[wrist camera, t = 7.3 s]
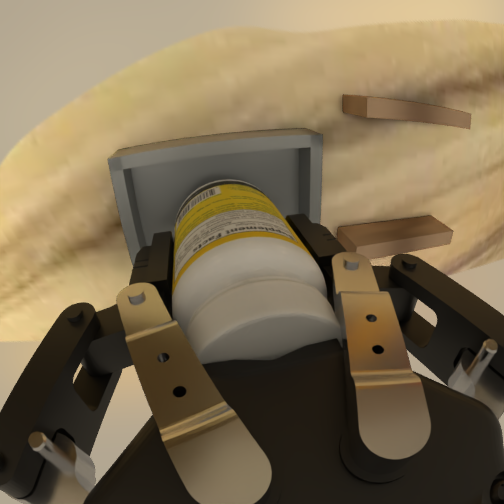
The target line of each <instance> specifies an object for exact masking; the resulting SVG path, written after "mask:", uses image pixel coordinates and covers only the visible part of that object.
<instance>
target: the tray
mask: <svg viewBox="0 0 504 504" xmlns="http://www.w3.org/2000/svg"><path fill="white" fill-rule="evenodd" d="M322 147H323V134H320V133H317V132H315V131H312V130H309V129H307V128H296V129H274V130H258V131H245V132H234V133H224V134H214V135H206V136H198V137H190V138H183V139H176V140H169V141H163V142H157V143H151V144H146V145H140V146H135V147H130V148H125V149H120V150H118V151H116V152H115V153H114V154H113V155H112V156H111V157H110V158H108V164H109V169H110V174H111V179H112V184H113V189H114V193H115V198H116V202H117V207H118V211H119V215H120V220H121V224H122V228H123V232H124V235H125V239H126V243H127V247H128V250H129V254H130V258H131V261H132V265H133V266H134V263H135V258H136V254H137V253H138V252H139V251H140V249H141V248H142V247H144V246H151V244H152V239H153V234H154V233H159V232H166V231H171V232H172V235H173V240H174V228H175V221H176V217H177V214H178V211H179V209H180V207H181V206H182V204H183V202H184V201H185V200H186V199H187V197H188V196H189V195H190V194H191V193H193V192H194V191H195V190H196V189H198V188H199V187H201V186H203V185H205V184H208V183H210V182H214V181H218V180H226V179H233V180H240V181H244V182H247V183H250V184H252V185H254V186H256V187H257V188H259V189H260V190H261V191H263V192H264V193H265V194H266V195H267V196H268V198H269V199H270V200H271V201H272V203H273V204H274V205H275V207H276V208H277V209H278V211H279V212H280V213H281V215H282V216H283V217H284V219H285V218H286V216H287V215H293V214H302V213H304V214H305V215H306V216H307V217H308V219H309V220H310V221H311V222H312V223H318V224H320V216H321V191H322Z"/></svg>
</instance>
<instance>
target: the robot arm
mask: <svg viewBox="0 0 504 504" xmlns="http://www.w3.org/2000/svg"><path fill="white" fill-rule="evenodd" d="M285 220H286V221H287V223H288V224H289V225H290V227H291V228H292V229H293V231H294V232H295V233H296V235H297V236H298V238H299V239H300V240H301V242H302V243H303V245H304V246H305V247H306V248H307V250H308V251H309V253H310V254H311V255H312V257H313V258H314V260H315V261H316V263H317V264H318V266H319V268H320V270H321V272H322V274H323V276H324V280H325V283H326V287H327V301H328V302H329V303H330V305H331V306H332V309H333V311H334V314H335V316H336V317H337V319H338V322H339V324H340V330H341V337H342V347H341V345H340V343H339V341H338V339H337V338H335V339H331V340H327V341H323V342H319V343H315V344H310V345H306V346H303V347H301V348H299V349H297V350H295V351H292V352H290V353H288V354H286V355H284V356H281V357H279V358H277V359H274V360H236V359H234V360H228V361H221V362H215V363H208V364H201V362H200V361H199V359H198V357H197V356H196V354H195V352H194V350H193V349H192V347H191V345H190V344H189V342H188V340H187V338H186V337H185V335H184V333H183V331H182V329H181V328H180V326H179V324H178V322H177V321H176V319H173V315H172V280H173V252H174V240H173V235H172V232H171V231H166V232H159V233H154V234H153V239H152V244H151V246H144V247H142V248H141V249H140V251H139V252H138V253H137V254H136V258H135V263H134V266H133V270H132V275H131V279H130V283H129V286H127V287H126V288H124V289H123V290H122V291H121V292H120V293H119V294H118V296H117V299H116V301H117V304H116V305H114V306H112V307H109V308H107V309H104V310H101V311H98V312H96V311H95V309H94V307H93V306H92V305H91V304H89V303H77V304H74V305H71V306H69V307H68V308H66V309H65V310H64V311H63V312H62V313H61V314H60V316H59V317H58V318H57V320H56V321H55V323H54V324H53V326H52V327H51V329H50V330H49V332H48V333H47V335H46V336H45V338H44V339H43V341H42V342H41V344H40V345H39V347H38V348H37V350H36V352H35V353H34V355H33V357H32V358H31V359H30V361H29V363H28V365H27V366H26V368H25V369H24V371H23V373H22V374H21V376H20V378H19V379H18V381H17V383H16V385H15V386H14V388H13V390H12V392H11V393H10V395H9V397H8V399H7V401H6V402H5V404H4V406H3V408H2V410H1V412H0V490H2V491H3V492H5V493H6V494H8V495H9V496H10V497H11V498H13V499H15V500H17V501H19V502H21V503H23V504H504V447H503V437H502V430H501V426H500V423H499V421H498V420H499V418H500V417H501V415H502V414H503V412H504V316H503V315H502V314H501V313H500V312H498V311H497V310H496V309H494V308H493V307H491V306H490V305H489V304H487V303H486V302H484V301H483V300H482V299H480V298H479V297H477V296H476V295H474V294H473V293H472V292H470V291H469V290H467V289H466V288H464V287H463V286H461V285H459V284H458V283H457V282H455V281H454V280H452V279H451V278H449V277H448V276H446V275H445V274H443V273H442V272H440V271H439V270H437V269H436V268H434V267H432V266H431V265H429V264H428V263H426V262H425V261H423V260H421V259H420V258H418V257H416V256H413V255H409V254H398V255H395V256H394V257H392V259H391V264H390V266H371V263H370V261H369V260H368V258H366V257H365V256H363V255H361V254H359V253H355V252H348V251H347V250H346V249H345V248H344V247H343V246H342V245H341V244H340V242H339V241H338V240H337V239H336V238H335V237H334V236H333V235H331V233H330V231H329V230H328V229H327V228H326V227H324V226H322V225H320V224H318V223H312V222H311V221H310V220H309V219H308V217H307V216H306V215H305V214H304V213H302V214H293V215H287V216H286V218H285ZM417 299H419V300H420V301H421V302H423V303H424V304H425V305H427V306H428V307H429V308H431V309H432V310H433V311H434V312H435V313H436V315H437V325H436V327H434V326H433V325H431V324H430V323H429V322H428V321H426V320H425V319H424V318H423V317H421V316H420V315H418V314H417V313H416V312H415V311H414V308H415V305H416V302H417ZM406 349H407V350H408V351H409V352H410V353H411V354H412V355H413V356H415V357H416V358H417V359H418V360H419V361H420V362H421V363H423V364H424V365H425V366H426V367H427V368H428V369H429V370H430V371H431V372H432V373H434V374H435V375H436V376H437V377H438V378H439V379H440V380H441V381H443V382H444V383H445V384H446V385H447V386H448V387H447V386H445V385H443V384H440V383H438V382H436V381H434V380H432V379H429V378H427V377H425V376H423V375H421V374H418V373H416V372H414V371H412V369H411V365H410V361H409V357H408V353H407V350H406ZM80 363H81V364H82V368H81V370H80V371H79V373H78V375H77V378H76V379H75V382H74V383H73V377H74V374H75V372H76V370H77V368H78V366H79V365H80ZM131 365H134V366H135V369H136V372H137V375H138V378H139V380H140V383H141V386H142V389H143V391H144V394H145V396H146V399H147V401H148V404H149V406H150V409H151V411H152V414H153V415H152V416H151V418H150V419H149V420H148V421H147V422H146V424H145V425H144V426H143V428H142V429H141V430H140V431H139V433H138V434H137V435H136V436H135V438H134V439H133V440H132V441H131V443H130V444H129V445H128V446H127V447H126V449H125V450H124V451H123V453H122V454H121V455H120V456H119V457H118V459H117V460H116V461H115V462H114V464H113V465H112V466H111V467H110V469H109V470H108V471H107V472H106V473H105V475H104V476H103V477H102V478H101V480H100V481H99V482H98V483H97V484H96V486H95V485H94V484H95V482H96V478H95V466H94V463H93V461H92V459H91V458H90V457H89V456H90V454H91V451H92V448H93V445H94V442H95V439H96V437H97V434H98V431H99V429H100V426H101V423H102V421H103V418H104V415H105V413H106V410H107V407H108V405H109V403H110V400H111V397H112V395H113V393H114V390H115V387H116V385H117V383H118V380H119V378H120V375H121V373H122V369H123V368H126V367H128V366H131Z"/></svg>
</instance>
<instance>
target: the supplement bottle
mask: <svg viewBox="0 0 504 504" xmlns="http://www.w3.org/2000/svg"><path fill="white" fill-rule="evenodd" d="M172 315H173V319H176V321H177V322H178V324H179V326H180V328H181V329H182V331H183V333H184V335H185V337H186V338H187V340H188V342H189V344H190V345H191V347H192V349H193V350H194V352H195V354H196V356H197V357H198V359H199V361H200V362H201V364H208V363H215V362H221V361H228V360H234V359H236V360H274V359H277V358H279V357H281V356H284V355H286V354H288V353H290V352H292V351H295V350H297V349H299V348H301V347H303V346H306V345H310V344H315V343H319V342H323V341H327V340H331V339H335V338H337V339H338V341H339V343H340V345H341V347H342V337H341V330H340V324H339V322H338V319H337V317H336V316H335V314H334V311H333V309H332V306H331V305H330V303H329V302H328V301H327V287H326V283H325V280H324V276H323V274H322V272H321V270H320V268H319V266H318V264H317V263H316V261H315V260H314V258H313V257H312V255H311V254H310V253H309V251H308V250H307V248H306V247H305V246H304V245H303V243H302V242H301V240H300V239H299V238H298V236H297V235H296V233H295V232H294V231H293V229H292V228H291V227H290V225H289V224H288V223H287V221H286V220H285V219H284V217H283V216H282V215H281V213H280V212H279V211H278V209H277V208H276V207H275V205H274V204H273V203H272V201H271V200H270V199H269V198H268V196H267V195H266V194H265V193H264V192H263V191H261V190H260V189H259V188H257V187H256V186H254V185H252V184H250V183H247V182H244V181H240V180H233V179H226V180H218V181H214V182H210V183H208V184H205V185H203V186H201V187H199V188H198V189H196V190H195V191H194V192H193V193H191V194H190V195H189V196H188V197H187V199H186V200H185V201H184V202H183V204H182V206H181V207H180V209H179V211H178V214H177V217H176V221H175V228H174V252H173V280H172Z"/></svg>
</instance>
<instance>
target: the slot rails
mask: <svg viewBox="0 0 504 504" xmlns="http://www.w3.org/2000/svg"><path fill="white" fill-rule="evenodd" d="M343 112H345V113H349V114H354V115H359V116H363V117H368V118H384V119H396V120H407V121H417V122H425V123H433V124H441V125H447V126H454V127H460V128H466V129H470V124H471V114H470V113H466V112H462V111H458V110H454V109H450V108H445V107H440V106H435V105H429V104H423V103H417V102H411V101H404V100H396V99H388V98H379V97H369V96H357V95H343ZM452 234H453V230H451V229H450V228H449V227H447V226H446V225H444V224H443V223H442V222H440V221H439V220H437V219H436V218H434V217H433V216H424V217H416V218H408V219H400V220H392V221H384V222H376V223H368V224H360V225H352V226H345V227H338V234H337V240H338V241H339V242H340V244H341V245H342V246H343V247H344V248H345V249H346V250H347V251H348V252H355V253H359V254H361V255H363V256H365V257H366V258H368V260H370V259H375V258H381V257H386V256H391V255H396V254H402V253H407V252H412V251H417V250H422V249H427V248H432V247H437V246H442V245H447V244H450V242H451V238H452Z"/></svg>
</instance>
